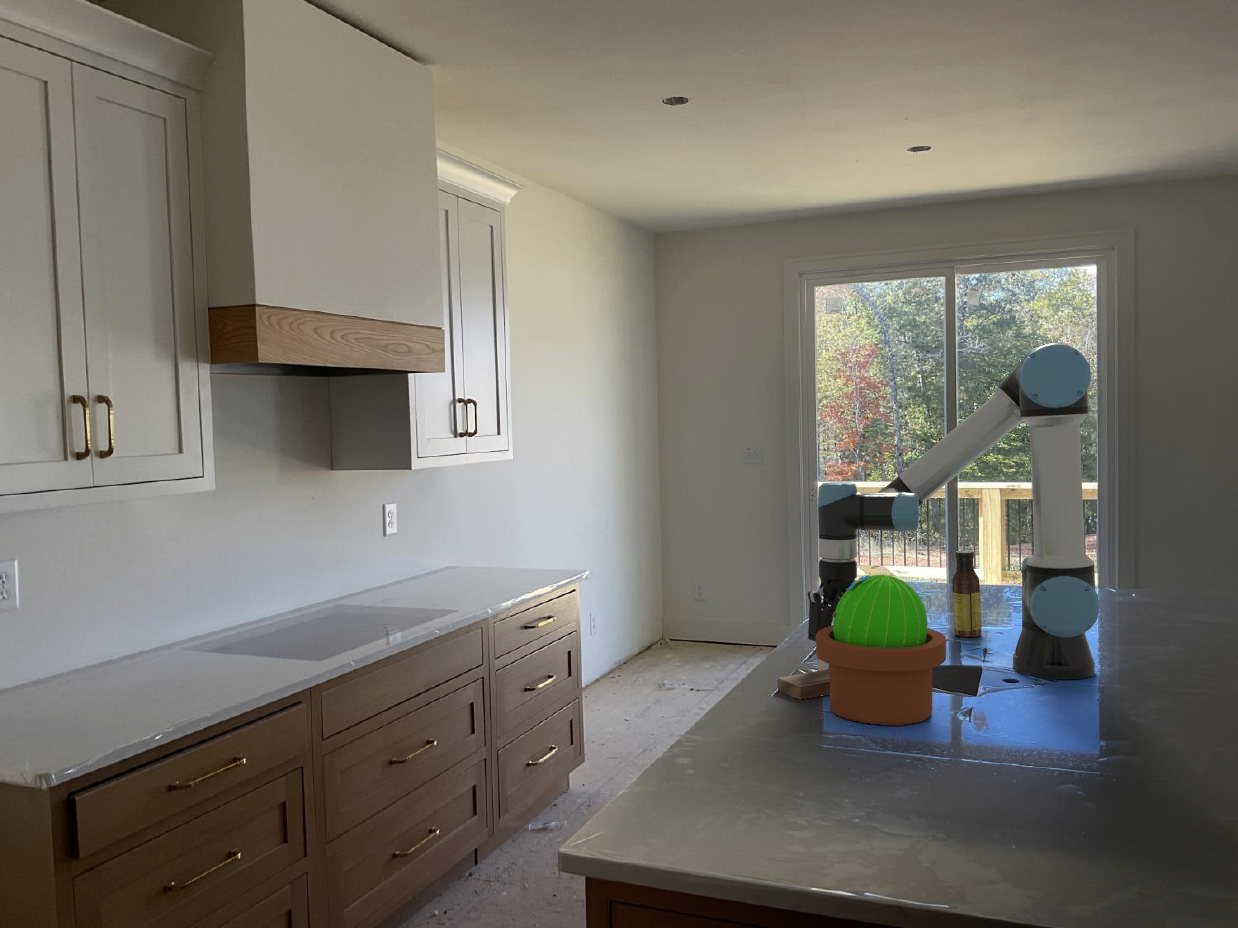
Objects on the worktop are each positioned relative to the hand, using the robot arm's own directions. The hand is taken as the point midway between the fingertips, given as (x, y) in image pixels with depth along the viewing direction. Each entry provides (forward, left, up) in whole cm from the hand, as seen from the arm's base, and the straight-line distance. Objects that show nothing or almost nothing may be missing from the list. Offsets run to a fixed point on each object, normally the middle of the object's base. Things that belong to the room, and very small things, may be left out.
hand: (838, 672), depth 196 cm
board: (-7, +6, 0) cm, 9 cm away
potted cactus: (-23, +9, -1) cm, 25 cm away
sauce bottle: (+11, -48, -1) cm, 49 cm away
